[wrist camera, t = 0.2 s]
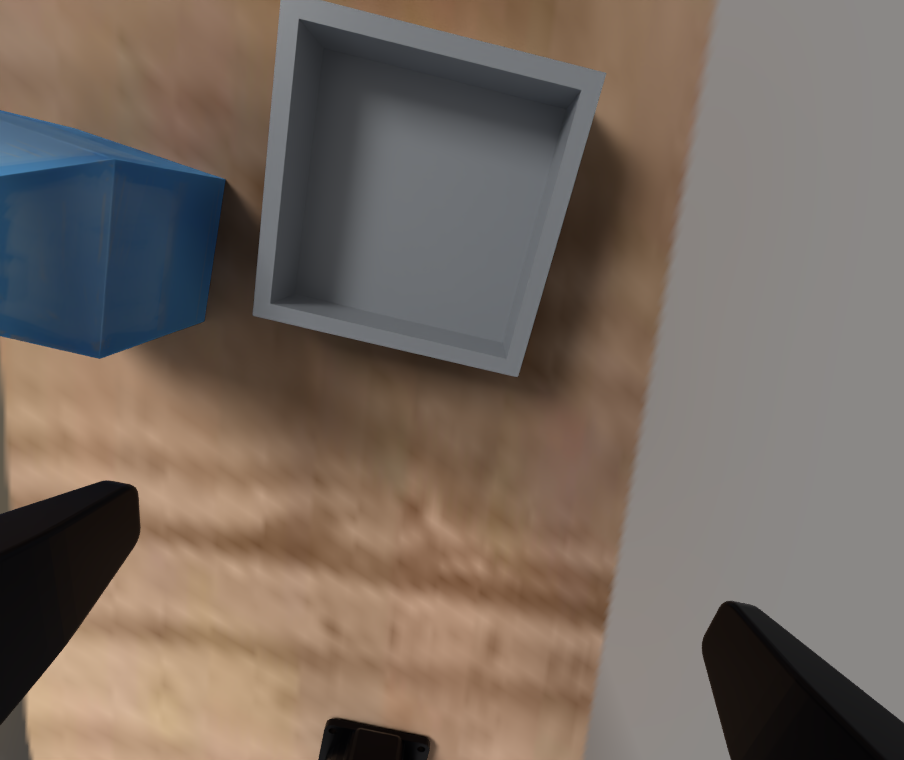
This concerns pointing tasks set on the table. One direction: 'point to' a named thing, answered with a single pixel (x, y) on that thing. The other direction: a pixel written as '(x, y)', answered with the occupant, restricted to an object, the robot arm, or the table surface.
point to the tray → (415, 183)
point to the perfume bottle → (99, 240)
